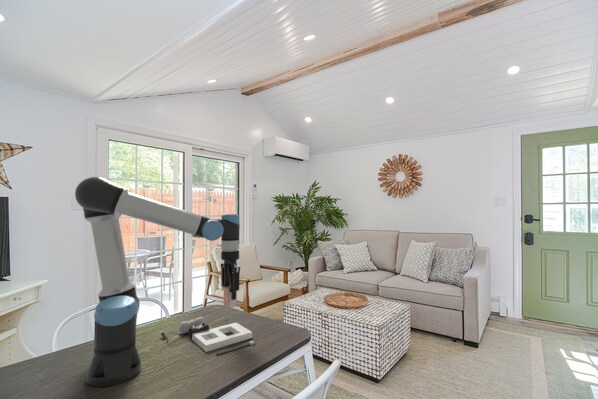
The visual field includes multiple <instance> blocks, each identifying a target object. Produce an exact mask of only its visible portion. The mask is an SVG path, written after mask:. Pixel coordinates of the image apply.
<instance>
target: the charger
mask: <svg viewBox="0 0 598 399" xmlns="http://www.w3.org/2000/svg"><path fill="white" fill-rule="evenodd" d="M229 291H230V286H228V287H224V288H223V307H224V308H227V309H230V308H229ZM237 296H238V291H236V307H237V306H238V305H237V304H238V303H237V302H238V297H237ZM236 307H235V308H236ZM233 308H234V307H232V308H231V309H233Z"/></svg>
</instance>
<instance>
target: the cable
mask: <svg viewBox="0 0 598 399" xmlns="http://www.w3.org/2000/svg"><path fill="white" fill-rule="evenodd" d="M255 344H256V343H255V341H254V340H250V341H249V342H247V343H244V344H240V345H238V346H235V347H231V348H228V349H224V350H221V351H219V352H215V356H219V355H223V354H225V353H229V352H231V351H235V350H238V349H241V348H244V347H246V346H247V347H248V346H253V345H255Z"/></svg>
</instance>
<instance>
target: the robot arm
mask: <svg viewBox="0 0 598 399" xmlns="http://www.w3.org/2000/svg"><path fill="white" fill-rule="evenodd" d="M74 191H75V192H74V194H75V195H74V197H75V200H76V202H77V204H78V205H79V206H80V207H82V209H83V216H84V220H86V222H88V223H90V226H91V231H92V237H93V243H94V249H95V254H96V260H97V265H98V272H99V277H100V282H101V287H102V288H101V289H100V291H99V292H98V301H99V302H98V303H97V305H96V307H95V310H94V314H93V317H94V331H93V332H94V334H93V354H92V357H91V359H90V363H89V365H88V368H87V370H86V373H85V383H86V384H87V385H88V386H91V387H97V388H101V387H103V388H104V387H109V386H111V387H112V386H114V385H119V384H121V383H124V382H127V381H129V380H130V379H132V378H134V377H135V376H137V375H138V374H139V373H140V371H141V369H142V360H141V358H140V357H141V356H140V355H139V352H138V349H137V344H136V343H137V341H136V340H137V338H136V337H137V321H138V320H137V318H138V314H139V309H140V299H139V298H138V296H137V290H136V285H135V283H133V282H131V281H130V276H129V272H128V265H127V260H126V259H127V258H126V254H125V247H124V242H123V236H122V230H121V224H120V217H122V215H124V216H126V217H127V216H128V217H131V218H134V219H138V220H141V221H145V222H148V223H152V224H154V225H158V226H162V227H166V228H169V229H172V230H176V231H179V232H182V233H186V234H190V235H191V236H192V237H193V238H199V239H201V238H202V239H205V240H207V241H212V242H213V241H217V240H219V239H220V238H221V239H220V240H221V241H220V249H221V252H220V253H221V254H220V255H221V256H220V259H221V260H222V261H223V263H220V269H221V270H220V274H221V277H220V279H221V287H222V289H224V287H228V286H230V291H229V308H228V309H233V308H236V291H237V292H238V291H240V272H241V267H240V266H238V264H237V261H238V260H239V259H240V251H239V250H240V225H241V224H240V216H239V214H237V213H224V214H222V215H221V217H220V218H209V217H206V216H202V215H200V214H197V213H193V212H191V211H188V210H184V209H182V208H179V207H175V206H172V205H169V204H166V203H163V202H160V201H157V200H154V199H151V198H147V197H145V196H142V195H138V194H135V193H132V192H129V190H128V189H127V188H126V187H123V186H122V185H121V186H120V185H118V184H115V183H113V182H112V181H111V180H110V181H109V180H108V179H106V178H104V177H100V176H92V177H91V176H90V177H88V178H87V177H86V178H85V179H83V180H82V181H80V183H78V185H77V186H76V188H75V190H74ZM232 307H233V308H232Z"/></svg>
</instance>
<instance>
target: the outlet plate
mask: <svg viewBox="0 0 598 399" xmlns="http://www.w3.org/2000/svg"><path fill="white" fill-rule="evenodd" d="M228 333H231V334H232V335H227V334H228ZM249 339H253V331H251V330H249V329H248V328H246V327H245V326H242V324H239V323H238V322H233V323H229V324H225V325H222V326H221V325H220V326H216V327H212V328H209V330H206V331H202V332H198V333H194V334H192V338H191V340H192V341H193V342H194V343H195V344H196V345H197V346H199V347H200V348H201V349H202V350H203V351H204V352H205V353H207V352H211V351H213V350H216V349H217V350H218V349H220V348H223V347H227V346H229V345H234V344H237V343H239V342H240V343H241V342H242V341H246V340H249Z"/></svg>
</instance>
